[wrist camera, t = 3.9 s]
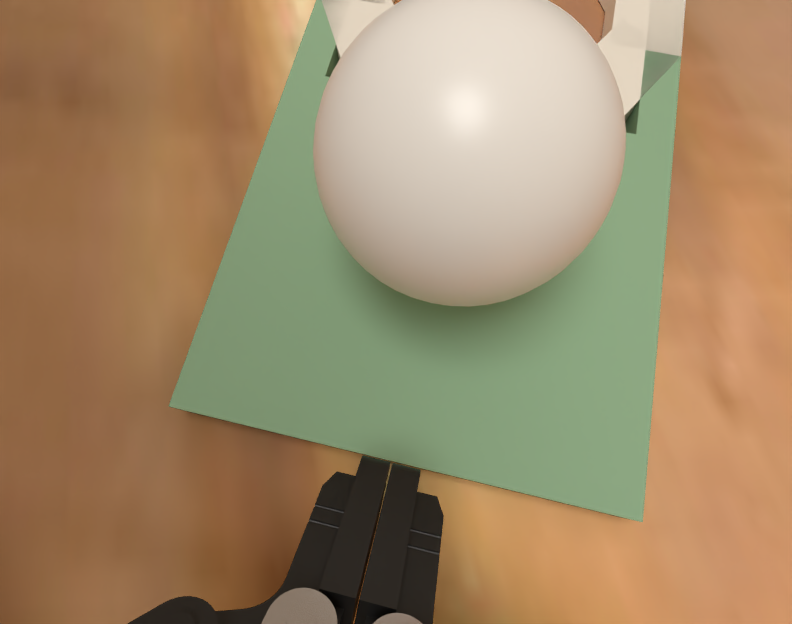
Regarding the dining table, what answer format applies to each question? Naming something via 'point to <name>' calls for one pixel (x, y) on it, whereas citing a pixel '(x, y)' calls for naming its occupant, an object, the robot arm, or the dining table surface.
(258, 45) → the dining table surface
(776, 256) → the dining table surface
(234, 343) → the mini golf board
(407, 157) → the ball
